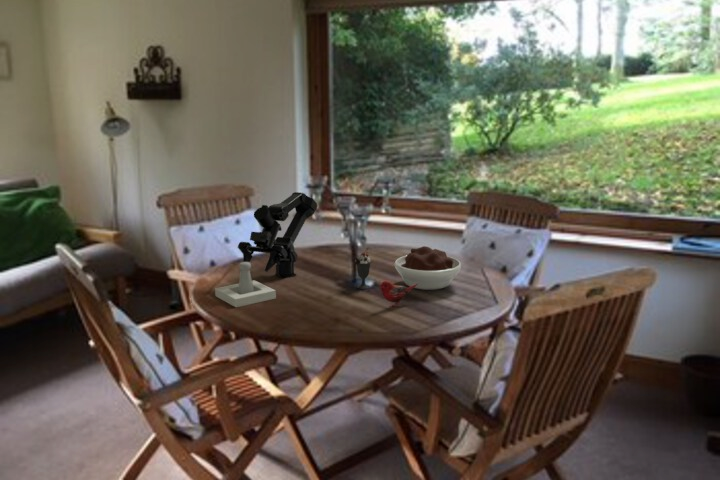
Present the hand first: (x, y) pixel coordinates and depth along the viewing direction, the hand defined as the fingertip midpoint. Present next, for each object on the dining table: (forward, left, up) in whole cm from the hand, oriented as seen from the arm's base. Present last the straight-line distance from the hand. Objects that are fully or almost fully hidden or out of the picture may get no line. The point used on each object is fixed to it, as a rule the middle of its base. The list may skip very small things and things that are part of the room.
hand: (254, 269), depth 239 cm
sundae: (-35, +21, -9) cm, 41 cm away
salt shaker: (+6, +4, -9) cm, 11 cm away
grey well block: (+6, +4, -8) cm, 11 cm away
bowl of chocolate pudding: (-55, +34, -9) cm, 65 cm away
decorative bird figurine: (-32, +45, -9) cm, 55 cm away
